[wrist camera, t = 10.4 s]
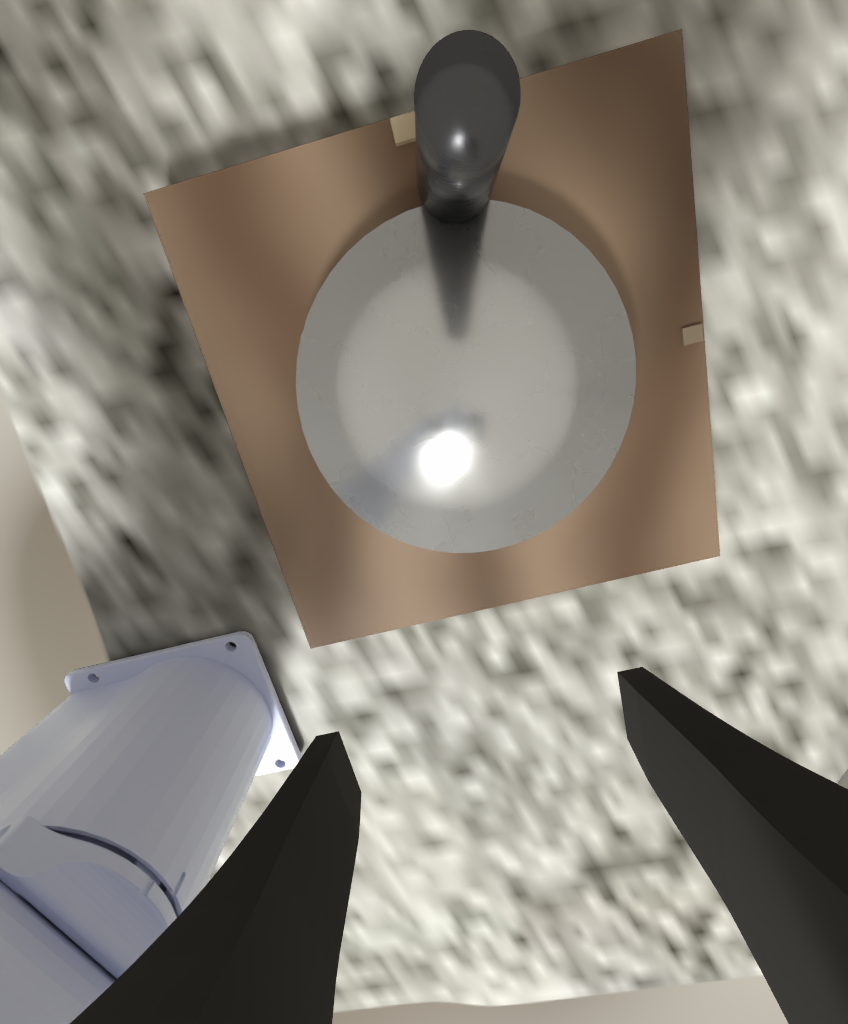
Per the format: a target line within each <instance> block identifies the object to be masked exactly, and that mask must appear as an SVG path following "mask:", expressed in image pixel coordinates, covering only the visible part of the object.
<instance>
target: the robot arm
mask: <svg viewBox="0 0 848 1024" xmlns="http://www.w3.org/2000/svg"><path fill="white" fill-rule="evenodd" d="M229 642H233V643H235V645H236V647H233V646H231V645H230V644H229ZM617 673H618V680H619V686H620V693H621V699H622V706H623V712H624V719H625V726H626V732H627V739H628V741H629V743H630V745H631V747H632V749H633V751H634V753H635V755H636V757H637V759H638V761H639V763H640V765H641V767H642V769H643V771H644V773H645V775H646V777H647V779H648V781H649V783H650V784H651V786H652V788H653V789H654V791H655V792H656V794H657V796H658V797H659V799H660V800H661V802H662V804H663V805H664V807H665V808H666V810H667V812H668V813H669V815H670V816H671V818H672V820H673V821H674V823H675V824H676V826H677V828H678V829H679V831H680V832H681V834H682V835H683V837H684V839H685V840H686V842H687V843H688V845H689V847H690V848H691V850H692V851H693V853H694V854H695V856H696V858H697V859H698V861H699V862H700V864H701V866H702V867H703V869H704V870H705V872H706V873H707V875H708V877H709V878H710V880H711V881H712V883H713V885H714V886H715V888H716V889H717V891H718V893H719V895H720V896H721V898H722V900H723V901H724V903H725V905H726V906H727V908H728V910H729V912H730V913H731V915H732V917H733V919H734V921H735V923H736V924H737V926H738V928H739V930H740V932H741V934H742V936H743V938H744V939H745V941H746V943H747V945H748V947H749V949H750V951H751V953H752V954H753V956H754V958H755V960H756V962H757V964H758V966H759V968H760V969H761V971H762V973H763V975H764V977H765V979H766V981H767V983H768V985H769V987H770V988H771V990H772V992H773V994H774V996H775V998H776V1000H777V1002H778V1004H779V1006H780V1008H781V1010H782V1011H783V1013H784V1015H785V1017H786V1019H787V1021H788V1023H789V1024H848V789H847V788H844V787H842V786H840V785H838V784H836V783H834V782H832V781H830V780H828V779H826V778H824V777H822V776H820V775H818V774H816V773H814V772H813V771H811V770H809V769H807V768H805V767H803V766H801V765H799V764H797V763H795V762H793V761H791V760H789V759H787V758H786V757H784V756H782V755H780V754H778V753H776V752H775V751H773V750H771V749H769V748H768V747H766V746H764V745H762V744H761V743H759V742H757V741H756V740H754V739H752V738H750V737H749V736H747V735H745V734H744V733H742V732H740V731H739V730H737V729H735V728H734V727H732V726H731V725H729V724H727V723H726V722H724V721H723V720H721V719H720V718H718V717H716V716H715V715H713V714H712V713H710V712H708V711H707V710H705V709H704V708H702V707H701V706H699V705H698V704H696V703H695V702H693V701H692V700H690V699H689V698H687V697H686V696H684V695H683V694H681V693H680V692H678V691H677V690H675V689H674V688H672V687H671V686H670V685H668V684H667V683H665V682H664V681H662V680H661V679H659V678H658V677H656V676H655V675H654V674H652V673H651V672H649V671H648V670H646V669H645V668H643V667H640V668H635V669H630V670H625V671H621V672H617ZM95 674H96V675H97V676H98V677H96V676H95ZM65 684H66V686H67V688H68V690H69V692H70V693H71V695H70V696H69V697H68V698H67V699H66V700H65V701H64V702H62V703H61V704H60V705H59V706H58V707H56V708H55V709H54V710H53V711H52V712H51V713H49V714H48V715H47V716H46V717H45V718H44V719H42V720H41V721H40V722H39V723H38V724H36V725H35V726H34V727H33V728H32V729H31V730H30V731H28V732H27V733H26V734H25V735H24V736H22V737H21V738H20V739H19V740H18V741H17V742H15V743H14V744H13V745H12V746H11V747H10V748H8V750H6V751H5V752H4V753H3V754H2V755H0V1024H332V1017H333V1006H334V995H335V985H336V976H337V969H338V962H339V954H340V948H341V942H342V936H343V930H344V924H345V918H346V912H347V907H348V901H349V895H350V889H351V883H352V877H353V871H354V865H355V858H356V852H357V846H358V839H359V826H360V809H361V790H360V788H359V785H358V782H357V779H356V777H355V774H354V771H353V769H352V766H351V763H350V760H349V758H348V755H347V752H346V750H345V747H344V744H343V741H342V739H341V736H340V733H339V731H338V732H334V733H329V734H324V735H319V736H316V737H315V739H314V740H313V742H312V743H311V744H310V746H309V747H308V749H307V750H306V752H305V753H304V755H303V756H302V758H301V753H300V751H299V748H298V746H297V744H296V741H295V739H294V736H293V734H292V731H291V729H290V726H289V724H288V721H287V719H286V716H285V714H284V711H283V709H282V706H281V704H280V702H279V699H278V697H277V694H276V692H275V689H274V687H273V684H272V682H271V679H270V677H269V674H268V672H267V669H266V667H265V664H264V662H263V660H262V657H261V655H260V652H259V650H258V647H257V645H256V642H255V640H254V638H253V636H252V635H251V634H250V633H249V632H246V631H239V632H235V633H231V634H226V635H222V636H218V637H213V638H209V639H205V640H200V641H196V642H192V643H187V644H183V645H179V646H174V647H170V648H166V649H162V650H157V651H153V652H149V653H144V654H140V655H136V656H131V657H127V658H123V659H118V660H114V661H110V662H105V663H101V664H97V665H92V666H88V667H84V668H79V669H75V670H73V671H72V672H70V673H69V674H67V676H66V677H65ZM279 759H281V760H284V761H280V760H279ZM293 768H294V769H293ZM288 769H293V771H292V772H291V774H290V775H289V777H288V778H287V779H286V781H285V782H284V784H283V785H282V787H281V788H280V790H279V791H278V792H277V794H276V795H275V797H274V798H273V799H272V801H271V802H270V804H269V805H268V807H267V808H266V809H265V811H264V812H263V814H262V815H261V816H260V818H259V819H258V820H257V821H256V823H255V824H254V825H253V827H252V828H251V829H250V831H249V832H248V833H247V835H246V836H245V837H244V839H243V840H242V841H241V843H240V844H239V845H238V846H237V848H236V849H235V850H234V852H233V853H232V854H231V856H230V857H229V858H228V859H227V861H226V862H225V863H224V864H223V866H222V867H221V868H220V869H219V870H218V872H217V873H216V874H215V875H214V876H213V878H212V879H211V880H210V881H209V882H208V880H209V878H210V876H211V874H212V871H213V869H214V867H215V864H216V862H217V860H218V858H219V855H220V853H221V851H222V849H223V846H224V844H225V842H226V840H227V837H228V835H229V833H230V830H231V828H232V826H233V824H234V821H235V819H236V817H237V815H238V812H239V810H240V808H241V805H242V803H243V801H244V799H245V796H246V794H247V792H248V790H249V787H250V785H251V783H252V780H253V778H254V776H259V775H264V774H269V773H274V772H278V771H283V770H288Z"/></svg>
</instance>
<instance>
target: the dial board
mask: <svg viewBox="0 0 848 1024" xmlns="http://www.w3.org/2000/svg"><path fill="white" fill-rule="evenodd" d="M519 80H520V88H521V100H520V107H519V112H518V116H517V119H516V122H515V125H514V128H513V131H512V134H511V137H510V140H509V143H508V145H507V148H506V151H505V154H504V157H503V160H502V163H501V166H500V169H499V172H498V175H497V178H496V181H495V184H494V187H493V189H492V192H491V195H490V198H489V200H494V201H501V202H507V203H510V204H513V205H517V206H520V207H523V208H527V209H530V210H532V211H534V212H536V213H538V214H540V215H542V216H544V217H546V218H549V219H551V220H552V221H554V222H555V223H557V224H558V225H560V226H561V227H563V228H564V229H565V230H567V231H568V232H570V233H571V234H572V235H573V236H575V237H576V238H577V239H578V240H579V241H580V242H581V243H582V244H583V245H584V246H585V247H587V248H588V249H589V250H590V252H591V253H592V254H593V255H594V256H595V258H596V259H597V260H598V261H599V263H600V264H601V265H602V266H603V268H604V269H605V271H606V272H607V274H608V275H609V277H610V279H611V280H612V282H613V284H614V285H615V287H616V289H617V291H618V293H619V296H620V298H621V300H622V303H623V305H624V307H625V310H626V312H627V316H628V320H629V323H630V327H631V330H632V334H633V341H634V348H635V356H636V385H635V394H634V403H633V407H632V412H631V416H630V420H629V424H628V427H627V430H626V433H625V435H624V438H623V441H622V443H621V446H620V448H619V450H618V452H617V454H616V456H615V458H614V460H613V462H612V464H611V466H610V467H609V469H608V470H607V472H606V473H605V475H604V476H603V478H602V479H601V480H600V482H599V483H598V485H597V486H596V487H595V488H594V489H593V491H592V492H591V493H590V494H589V495H588V496H587V497H586V499H585V500H584V501H583V502H582V503H581V504H580V505H579V506H577V507H576V508H575V509H574V510H573V511H572V512H571V513H570V514H569V515H567V516H566V517H565V518H563V519H562V520H560V521H559V522H558V523H556V524H555V525H553V526H552V527H550V528H549V529H547V530H545V531H543V532H541V533H539V534H538V535H536V536H534V537H532V538H529V539H527V540H524V541H522V542H519V543H517V544H514V545H511V546H507V547H503V548H500V549H496V550H491V551H483V552H476V553H449V552H440V551H432V550H428V549H424V548H420V547H416V546H412V545H410V544H407V543H404V542H402V541H399V540H396V539H394V538H392V537H390V536H389V535H387V534H385V533H383V532H381V531H379V530H377V529H376V528H374V527H373V526H371V525H370V524H369V523H367V522H366V521H364V520H363V519H361V518H360V517H359V516H358V515H357V514H356V513H355V512H353V511H352V510H351V509H350V508H349V507H348V506H347V505H346V504H345V503H344V502H343V501H342V500H341V499H340V497H339V496H338V495H337V494H336V493H335V492H334V491H333V489H332V488H331V487H330V485H329V484H328V482H327V481H326V479H325V478H324V476H323V475H322V473H321V472H320V470H319V468H318V466H317V464H316V462H315V460H314V458H313V456H312V454H311V452H310V450H309V447H308V444H307V441H306V438H305V435H304V433H303V430H302V425H301V420H300V416H299V411H298V405H297V393H296V366H297V357H298V351H299V345H300V339H301V335H302V332H303V328H304V325H305V322H306V319H307V315H308V313H309V311H310V309H311V306H312V304H313V302H314V300H315V297H316V295H317V293H318V291H319V290H320V288H321V286H322V285H323V283H324V282H325V280H326V278H327V277H328V275H329V274H330V272H331V271H332V270H333V268H334V267H335V266H336V265H337V263H338V262H339V261H340V260H341V259H342V257H343V256H344V255H345V254H346V253H347V252H348V251H349V250H350V249H351V248H352V247H353V246H354V245H355V244H356V243H357V242H359V241H360V240H361V239H362V238H363V237H364V236H365V235H367V234H368V233H370V232H371V231H373V230H374V229H375V228H377V227H378V226H380V225H381V224H383V223H384V222H386V221H388V220H390V219H392V218H394V217H396V216H398V215H400V214H402V213H404V212H406V211H408V210H411V209H414V208H417V207H420V206H423V204H422V202H421V200H420V197H419V194H418V189H417V169H416V136H415V111H412V112H408V113H405V114H402V115H399V116H395V117H392V118H389V119H386V120H383V121H379V122H376V123H373V124H369V125H366V126H363V127H360V128H356V129H353V130H350V131H346V132H343V133H340V134H337V135H333V136H330V137H327V138H324V139H320V140H317V141H314V142H310V143H307V144H304V145H301V146H297V147H294V148H291V149H287V150H284V151H281V152H278V153H274V154H271V155H268V156H265V157H261V158H258V159H255V160H251V161H248V162H245V163H242V164H238V165H235V166H232V167H229V168H225V169H222V170H219V171H215V172H212V173H209V174H206V175H202V176H199V177H196V178H192V179H189V180H186V181H183V182H179V183H176V184H173V185H170V186H166V187H163V188H160V189H156V190H153V191H150V192H147V193H143V194H144V196H145V199H146V202H147V205H148V207H149V210H150V213H151V215H152V218H153V221H154V224H155V226H156V229H157V232H158V235H159V237H160V240H161V243H162V245H163V248H164V251H165V254H166V256H167V259H168V262H169V264H170V267H171V270H172V273H173V275H174V278H175V281H176V283H177V286H178V289H179V292H180V294H181V297H182V300H183V303H184V305H185V308H186V311H187V313H188V316H189V319H190V322H191V324H192V327H193V330H194V332H195V335H196V338H197V341H198V343H199V346H200V349H201V352H202V354H203V357H204V360H205V362H206V365H207V368H208V371H209V373H210V376H211V379H212V381H213V384H214V387H215V390H216V392H217V395H218V398H219V401H220V403H221V406H222V409H223V411H224V414H225V417H226V420H227V422H228V425H229V428H230V430H231V433H232V436H233V439H234V441H235V444H236V447H237V450H238V452H239V455H240V458H241V460H242V463H243V466H244V469H245V471H246V474H247V477H248V479H249V482H250V485H251V488H252V490H253V493H254V496H255V498H256V501H257V504H258V507H259V509H260V512H261V515H262V518H263V520H264V523H265V526H266V528H267V531H268V534H269V537H270V539H271V542H272V545H273V547H274V550H275V553H276V556H277V558H278V561H279V564H280V567H281V569H282V572H283V575H284V577H285V580H286V583H287V586H288V588H289V591H290V594H291V596H292V599H293V602H294V605H295V607H296V610H297V613H298V616H299V618H300V621H301V624H302V626H303V629H304V632H305V635H306V637H307V640H308V643H309V645H310V648H315V647H319V646H324V645H328V644H333V643H337V642H342V641H346V640H350V639H355V638H359V637H364V636H368V635H373V634H377V633H381V632H386V631H390V630H395V629H399V628H403V627H408V626H412V625H417V624H421V623H426V622H430V621H434V620H439V619H443V618H448V617H452V616H456V615H461V614H465V613H470V612H474V611H479V610H483V609H487V608H492V607H496V606H501V605H505V604H509V603H514V602H518V601H523V600H527V599H532V598H536V597H540V596H545V595H549V594H554V593H558V592H563V591H567V590H571V589H576V588H580V587H585V586H589V585H593V584H598V583H602V582H607V581H611V580H616V579H620V578H624V577H629V576H633V575H638V574H642V573H646V572H651V571H655V570H660V569H664V568H669V567H673V566H677V565H682V564H686V563H691V562H695V561H699V560H704V559H708V558H713V557H717V556H720V549H719V535H718V522H717V508H716V494H715V480H714V466H713V452H712V438H711V425H710V411H709V397H708V383H707V369H706V355H705V341H704V328H703V314H702V300H701V286H700V272H699V258H698V244H697V231H696V217H695V203H694V189H693V175H692V161H691V147H690V134H689V120H688V106H687V92H686V78H685V64H684V50H683V37H682V29H681V30H677V31H674V32H671V33H668V34H664V35H661V36H658V37H654V38H651V39H648V40H645V41H641V42H638V43H635V44H631V45H628V46H625V47H622V48H618V49H615V50H612V51H609V52H605V53H602V54H599V55H595V56H592V57H589V58H586V59H582V60H579V61H576V62H573V63H569V64H566V65H563V66H559V67H556V68H553V69H550V70H546V71H543V72H540V73H536V74H533V75H530V76H527V77H523V78H520V79H519Z"/></svg>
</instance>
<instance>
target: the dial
mask: <svg viewBox="0 0 848 1024" xmlns="http://www.w3.org/2000/svg"><path fill="white" fill-rule="evenodd" d="M520 100H521V88H520V80H519V75H518V71H517V68H516V65H515V63H514V61H513V59H512V57H511V55H510V54H509V52H508V51H507V50H506V48H505V47H504V46H503V45H502V44H501V43H500V42H499V41H498V40H496V39H495V38H494V37H492V36H490V35H488V34H486V33H483V32H480V31H475V30H463V31H457V32H455V33H452V34H450V35H448V36H446V37H444V38H443V39H441V40H440V41H439V42H437V43H436V44H435V45H434V46H433V47H432V48H431V50H430V51H429V52H428V53H427V55H426V57H425V58H424V60H423V62H422V64H421V66H420V69H419V72H418V75H417V78H416V83H415V92H414V103H415V136H416V169H417V189H418V194H419V197H420V200H421V202H422V204H423V206H420V207H417V208H414V209H411V210H408V211H406V212H404V213H402V214H400V215H398V216H396V217H394V218H392V219H390V220H388V221H386V222H384V223H383V224H381V225H380V226H378V227H377V228H375V229H374V230H373V231H371V232H370V233H368V234H367V235H365V236H364V237H363V238H362V239H361V240H360V241H359V242H357V243H356V244H355V245H354V246H353V247H352V248H351V249H350V250H349V251H348V252H347V253H346V254H345V255H344V256H343V257H342V259H341V260H340V261H339V262H338V263H337V265H336V266H335V267H334V268H333V270H332V271H331V272H330V274H329V275H328V277H327V278H326V280H325V282H324V283H323V285H322V286H321V288H320V290H319V291H318V293H317V295H316V297H315V300H314V302H313V304H312V306H311V309H310V311H309V313H308V315H307V319H306V322H305V325H304V328H303V332H302V335H301V339H300V345H299V351H298V357H297V366H296V393H297V405H298V411H299V416H300V420H301V425H302V430H303V433H304V435H305V438H306V441H307V444H308V447H309V450H310V452H311V454H312V456H313V458H314V460H315V462H316V464H317V466H318V468H319V470H320V472H321V473H322V475H323V476H324V478H325V479H326V481H327V482H328V484H329V485H330V487H331V488H332V489H333V491H334V492H335V493H336V494H337V495H338V496H339V497H340V499H341V500H342V501H343V502H344V503H345V504H346V505H347V506H348V507H349V508H350V509H351V510H352V511H353V512H355V513H356V514H357V515H358V516H359V517H360V518H361V519H363V520H364V521H366V522H367V523H369V524H370V525H371V526H373V527H374V528H376V529H377V530H379V531H381V532H383V533H385V534H387V535H389V536H390V537H392V538H394V539H396V540H399V541H402V542H404V543H407V544H410V545H412V546H416V547H420V548H424V549H428V550H432V551H440V552H449V553H476V552H483V551H491V550H496V549H500V548H503V547H507V546H511V545H514V544H517V543H519V542H522V541H524V540H527V539H529V538H532V537H534V536H536V535H538V534H539V533H541V532H543V531H545V530H547V529H549V528H550V527H552V526H553V525H555V524H556V523H558V522H559V521H560V520H562V519H563V518H565V517H566V516H567V515H569V514H570V513H571V512H572V511H573V510H574V509H575V508H576V507H577V506H579V505H580V504H581V503H582V502H583V501H584V500H585V499H586V497H587V496H588V495H589V494H590V493H591V492H592V491H593V489H594V488H595V487H596V486H597V485H598V483H599V482H600V480H601V479H602V478H603V476H604V475H605V473H606V472H607V470H608V469H609V467H610V466H611V464H612V462H613V460H614V458H615V456H616V454H617V452H618V450H619V448H620V446H621V443H622V441H623V438H624V435H625V433H626V430H627V427H628V424H629V420H630V416H631V412H632V407H633V403H634V394H635V385H636V356H635V348H634V341H633V334H632V330H631V327H630V323H629V320H628V316H627V312H626V310H625V307H624V305H623V303H622V300H621V298H620V296H619V293H618V291H617V289H616V287H615V285H614V284H613V282H612V280H611V279H610V277H609V275H608V274H607V272H606V271H605V269H604V268H603V266H602V265H601V264H600V263H599V261H598V260H597V259H596V258H595V256H594V255H593V254H592V253H591V252H590V250H589V249H588V248H587V247H585V246H584V245H583V244H582V243H581V242H580V241H579V240H578V239H577V238H576V237H575V236H573V235H572V234H571V233H570V232H568V231H567V230H565V229H564V228H563V227H561V226H560V225H558V224H557V223H555V222H554V221H552V220H551V219H549V218H546V217H544V216H542V215H540V214H538V213H536V212H534V211H532V210H530V209H527V208H523V207H520V206H517V205H513V204H510V203H507V202H501V201H494V200H489V198H490V195H491V192H492V189H493V187H494V184H495V181H496V178H497V175H498V172H499V169H500V166H501V163H502V160H503V157H504V154H505V151H506V148H507V145H508V143H509V140H510V137H511V134H512V131H513V128H514V125H515V122H516V119H517V116H518V112H519V107H520Z"/></svg>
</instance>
